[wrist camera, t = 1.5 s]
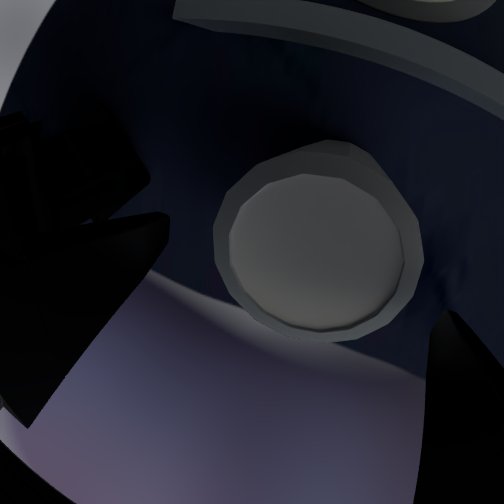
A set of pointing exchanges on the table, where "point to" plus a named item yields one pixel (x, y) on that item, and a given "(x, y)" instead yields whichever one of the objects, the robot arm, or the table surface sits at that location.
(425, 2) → the grey round disc
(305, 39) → the low wall
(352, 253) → the shot glass
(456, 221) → the table surface
